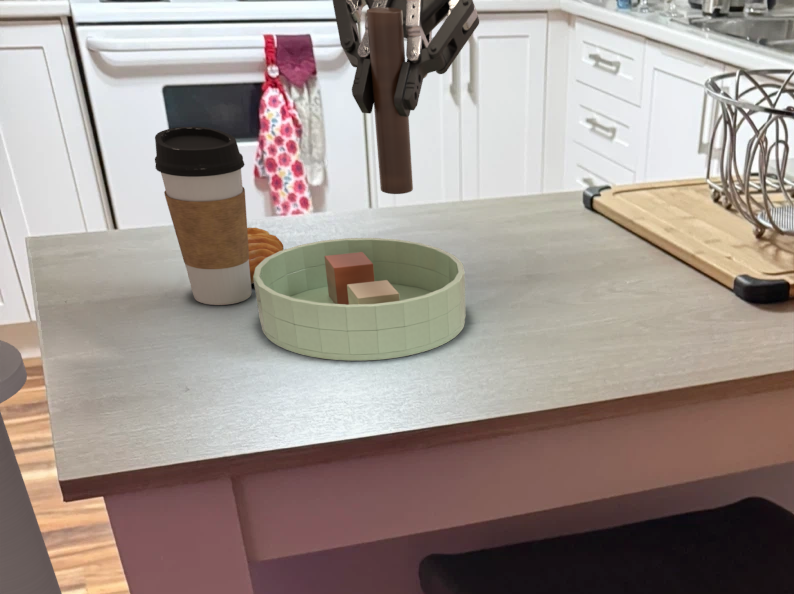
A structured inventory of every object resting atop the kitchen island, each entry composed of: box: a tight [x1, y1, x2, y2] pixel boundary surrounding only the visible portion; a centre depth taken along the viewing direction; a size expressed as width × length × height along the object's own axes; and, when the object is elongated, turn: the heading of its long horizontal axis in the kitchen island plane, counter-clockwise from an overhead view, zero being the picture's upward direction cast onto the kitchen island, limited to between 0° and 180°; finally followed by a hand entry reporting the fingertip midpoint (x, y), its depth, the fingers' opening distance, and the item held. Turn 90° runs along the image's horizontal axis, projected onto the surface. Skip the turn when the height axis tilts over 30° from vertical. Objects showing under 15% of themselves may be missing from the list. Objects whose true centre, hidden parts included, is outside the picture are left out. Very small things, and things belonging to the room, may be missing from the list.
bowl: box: [253, 237, 467, 362], centre depth 103 cm, size 20×20×5 cm
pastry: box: [247, 227, 284, 285], centre depth 113 cm, size 9×7×4 cm
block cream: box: [347, 280, 400, 305], centre depth 100 cm, size 4×4×4 cm
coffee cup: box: [154, 126, 253, 306], centre depth 104 cm, size 8×8×15 cm
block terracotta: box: [325, 252, 374, 305], centre depth 106 cm, size 4×4×4 cm
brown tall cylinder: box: [366, 8, 414, 195], centre depth 93 cm, size 3×3×14 cm
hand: (382, 108), depth 91 cm, fingers closed on brown tall cylinder, 3 cm apart
